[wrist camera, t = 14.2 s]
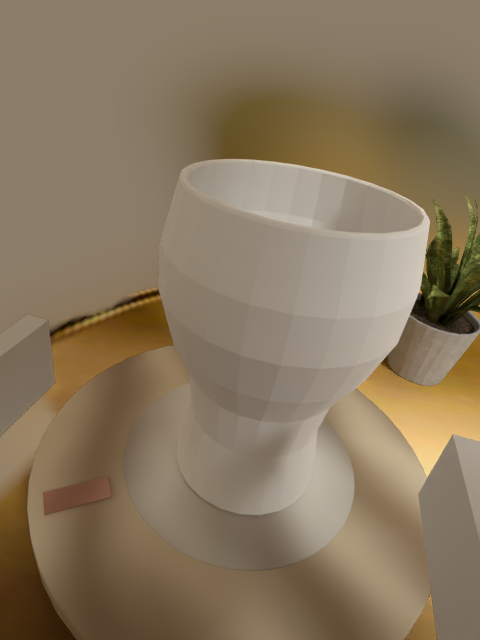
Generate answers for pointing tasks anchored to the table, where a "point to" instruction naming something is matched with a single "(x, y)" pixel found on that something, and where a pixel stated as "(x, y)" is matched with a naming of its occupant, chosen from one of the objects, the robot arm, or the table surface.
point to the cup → (278, 314)
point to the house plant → (441, 308)
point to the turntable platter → (220, 525)
